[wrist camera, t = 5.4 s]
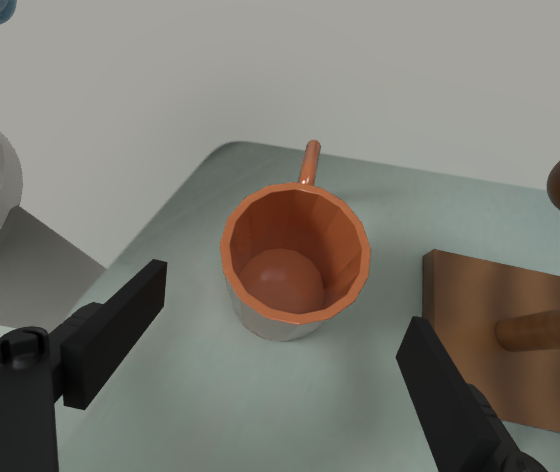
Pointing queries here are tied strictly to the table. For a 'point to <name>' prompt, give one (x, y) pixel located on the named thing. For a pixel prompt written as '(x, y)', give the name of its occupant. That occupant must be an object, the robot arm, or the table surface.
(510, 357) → the mug stand
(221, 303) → the table surface
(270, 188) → the mug
